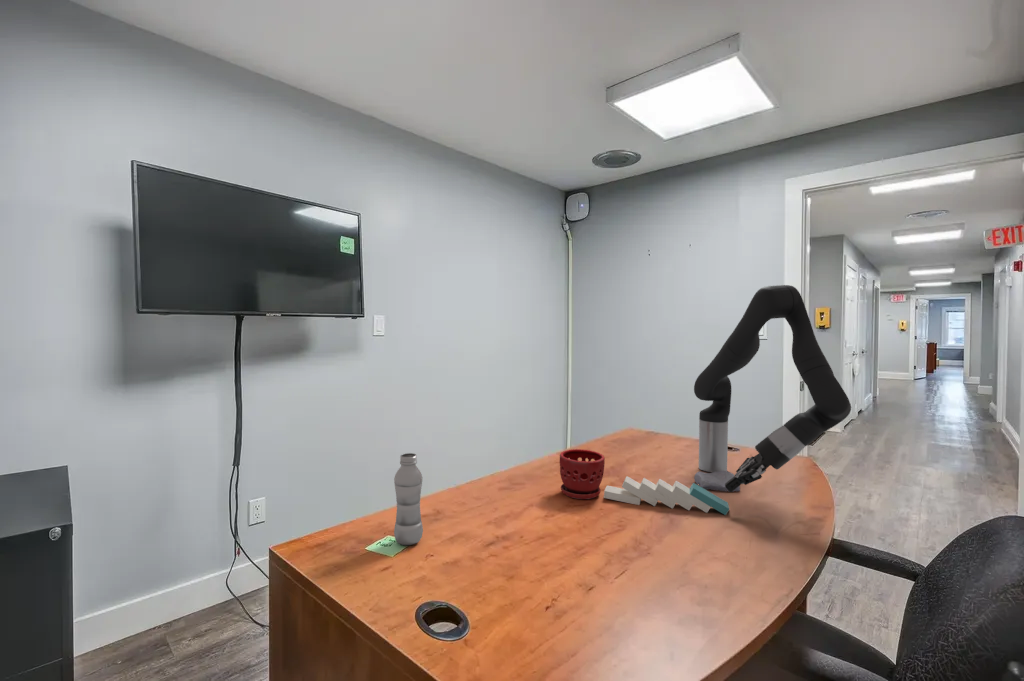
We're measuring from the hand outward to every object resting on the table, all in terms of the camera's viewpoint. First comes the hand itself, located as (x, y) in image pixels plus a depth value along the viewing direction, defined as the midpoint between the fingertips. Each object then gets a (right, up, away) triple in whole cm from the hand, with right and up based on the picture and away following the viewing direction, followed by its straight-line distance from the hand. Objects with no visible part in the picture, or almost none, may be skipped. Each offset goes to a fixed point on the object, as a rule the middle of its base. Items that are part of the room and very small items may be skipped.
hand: (727, 488), depth 130 cm
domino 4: (-9, -5, +3) cm, 11 cm away
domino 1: (-21, -5, +8) cm, 23 cm away
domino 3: (-13, -5, +5) cm, 14 cm away
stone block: (+6, -6, +21) cm, 23 cm away
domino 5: (-4, -5, +2) cm, 7 cm away
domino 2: (-17, -5, +6) cm, 19 cm away
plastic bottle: (-81, -7, -19) cm, 84 cm away
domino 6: (0, -6, 0) cm, 5 cm away
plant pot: (-37, -6, +13) cm, 40 cm away
